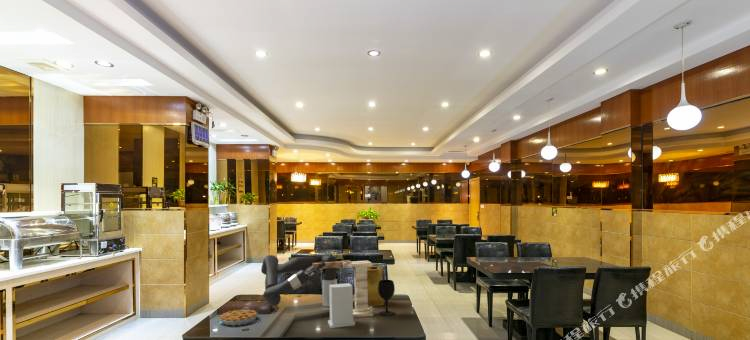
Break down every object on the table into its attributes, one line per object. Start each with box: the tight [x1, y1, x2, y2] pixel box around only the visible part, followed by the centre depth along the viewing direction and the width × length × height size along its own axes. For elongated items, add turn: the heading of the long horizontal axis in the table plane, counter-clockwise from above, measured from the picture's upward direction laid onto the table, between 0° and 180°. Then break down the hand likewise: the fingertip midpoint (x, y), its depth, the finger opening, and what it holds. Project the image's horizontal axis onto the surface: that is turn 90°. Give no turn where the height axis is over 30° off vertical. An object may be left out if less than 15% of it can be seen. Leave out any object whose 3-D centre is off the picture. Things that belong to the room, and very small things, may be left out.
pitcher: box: [367, 265, 385, 307], centre depth 282 cm, size 17×19×25 cm
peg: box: [313, 259, 353, 270], centre depth 239 cm, size 22×6×3 cm, turn 107°
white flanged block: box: [327, 282, 356, 329], centre depth 239 cm, size 10×14×22 cm
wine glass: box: [378, 279, 396, 317], centre depth 258 cm, size 10×10×20 cm
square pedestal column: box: [344, 259, 374, 319], centre depth 258 cm, size 12×18×32 cm, turn 107°
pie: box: [219, 308, 259, 327], centre depth 249 cm, size 22×22×5 cm
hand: (324, 262), depth 238 cm, fingers closed on peg, 3 cm apart
